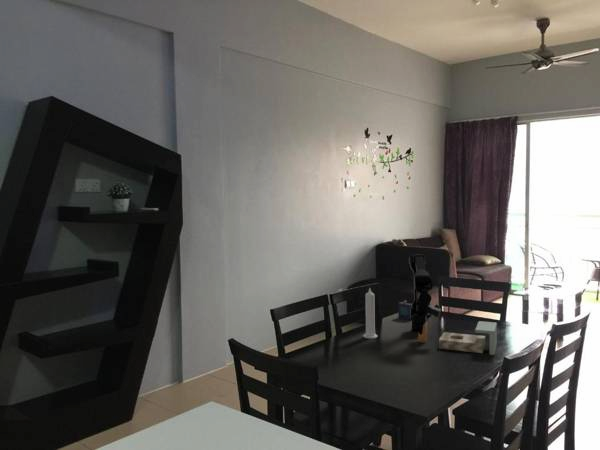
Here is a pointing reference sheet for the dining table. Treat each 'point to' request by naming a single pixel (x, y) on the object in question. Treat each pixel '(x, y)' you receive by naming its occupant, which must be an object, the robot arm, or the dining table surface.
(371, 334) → the candle
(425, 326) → the peg
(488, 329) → the upright pale grey block
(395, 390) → the dining table surface
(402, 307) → the flask
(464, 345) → the socket block
